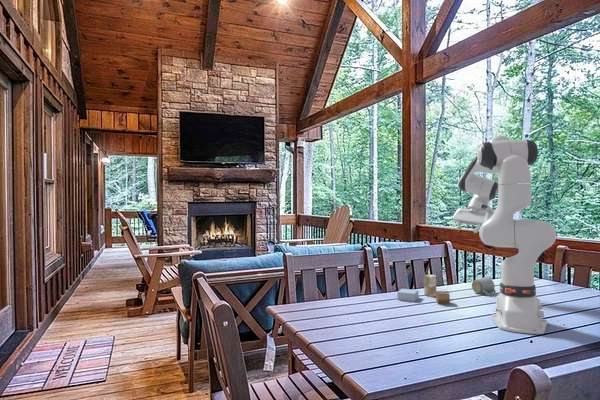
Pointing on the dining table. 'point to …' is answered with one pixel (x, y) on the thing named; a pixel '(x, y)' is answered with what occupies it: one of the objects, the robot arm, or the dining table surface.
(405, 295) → the slate slab
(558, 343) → the dining table surface
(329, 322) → the dining table surface
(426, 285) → the birch pillar
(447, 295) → the walnut cube
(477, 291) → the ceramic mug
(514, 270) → the robot arm
